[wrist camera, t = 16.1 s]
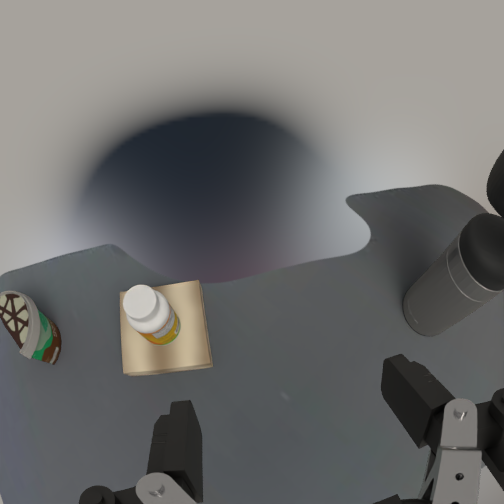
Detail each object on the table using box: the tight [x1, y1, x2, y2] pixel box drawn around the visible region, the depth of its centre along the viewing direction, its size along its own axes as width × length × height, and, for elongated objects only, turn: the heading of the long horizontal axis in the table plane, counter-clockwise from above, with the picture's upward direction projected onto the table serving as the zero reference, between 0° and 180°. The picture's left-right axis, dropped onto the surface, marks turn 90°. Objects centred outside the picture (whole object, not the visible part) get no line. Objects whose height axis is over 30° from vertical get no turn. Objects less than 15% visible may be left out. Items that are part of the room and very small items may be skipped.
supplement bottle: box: [123, 285, 181, 346], centre depth 37 cm, size 5×5×10 cm
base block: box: [120, 280, 213, 376], centre depth 42 cm, size 12×12×3 cm
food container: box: [0, 291, 61, 365], centre depth 38 cm, size 12×6×10 cm, turn 56°
